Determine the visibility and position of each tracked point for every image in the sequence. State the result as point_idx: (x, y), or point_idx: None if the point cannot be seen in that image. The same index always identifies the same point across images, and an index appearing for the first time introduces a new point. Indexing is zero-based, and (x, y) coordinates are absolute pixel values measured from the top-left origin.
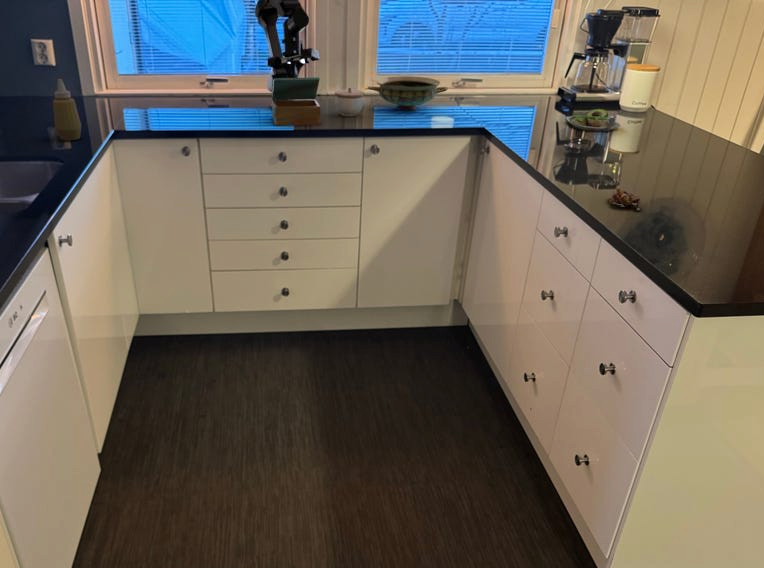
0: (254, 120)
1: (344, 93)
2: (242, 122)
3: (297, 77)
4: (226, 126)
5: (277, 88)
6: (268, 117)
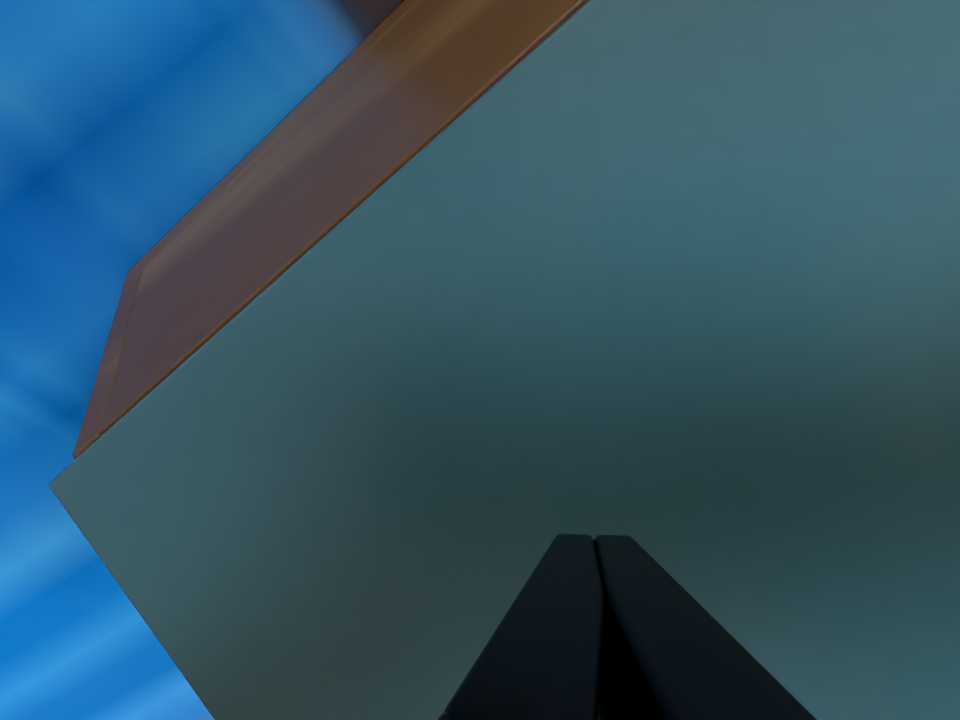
0: (56, 465)
1: None
2: (51, 575)
3: (749, 665)
4: (93, 700)
5: None
6: (23, 259)
